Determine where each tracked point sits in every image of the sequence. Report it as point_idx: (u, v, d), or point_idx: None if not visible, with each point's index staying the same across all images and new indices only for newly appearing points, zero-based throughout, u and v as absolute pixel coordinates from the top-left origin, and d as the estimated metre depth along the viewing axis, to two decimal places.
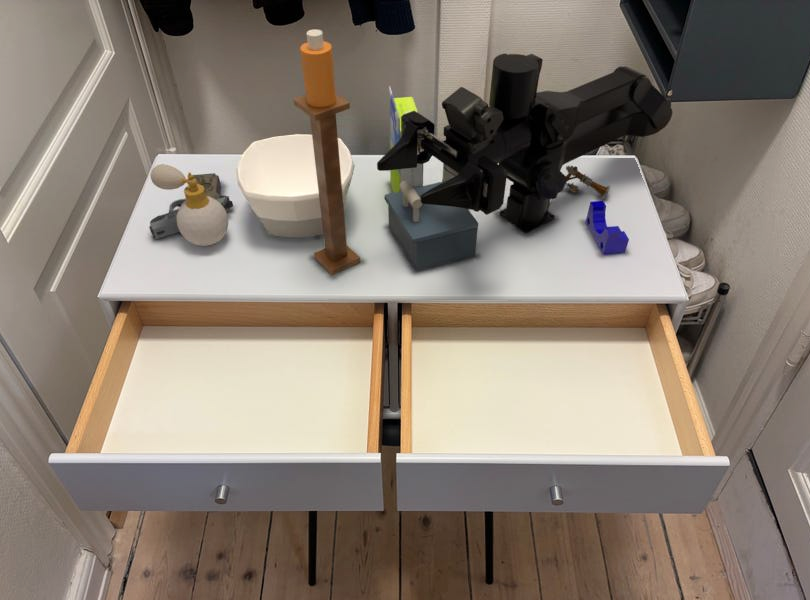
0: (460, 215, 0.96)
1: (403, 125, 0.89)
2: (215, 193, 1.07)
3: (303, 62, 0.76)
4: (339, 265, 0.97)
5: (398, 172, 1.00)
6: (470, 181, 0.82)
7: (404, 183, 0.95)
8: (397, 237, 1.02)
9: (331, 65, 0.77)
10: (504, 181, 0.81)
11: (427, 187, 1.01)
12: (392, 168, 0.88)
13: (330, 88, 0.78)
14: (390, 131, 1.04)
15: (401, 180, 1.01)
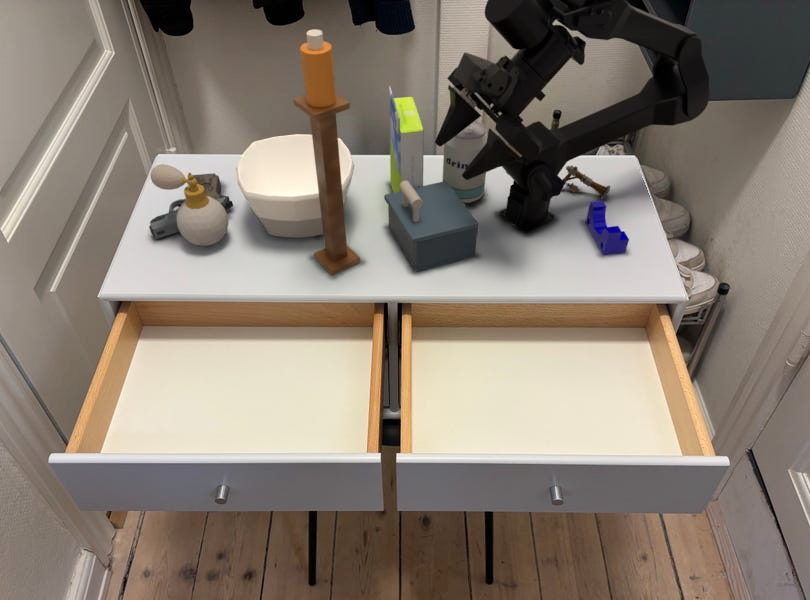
0: (460, 215, 0.96)
1: None
2: (215, 193, 1.07)
3: (303, 62, 0.76)
4: (339, 265, 0.97)
5: (398, 172, 1.00)
6: (497, 145, 0.86)
7: (404, 183, 0.95)
8: (397, 237, 1.02)
9: (331, 65, 0.77)
10: (524, 136, 0.83)
11: (427, 187, 1.01)
12: (453, 136, 0.95)
13: (330, 88, 0.78)
14: (390, 131, 1.04)
15: (401, 180, 1.01)
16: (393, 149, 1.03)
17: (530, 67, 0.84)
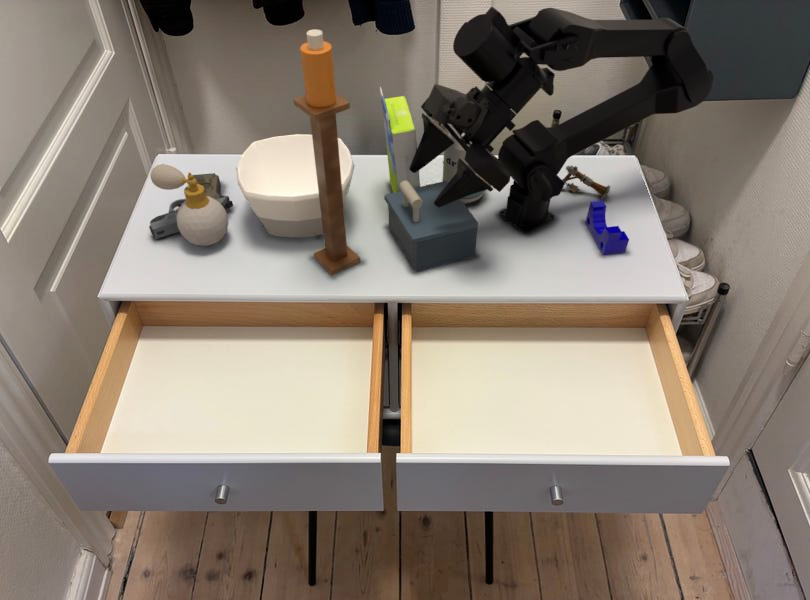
0: (460, 215, 0.96)
1: None
2: (215, 193, 1.07)
3: (303, 62, 0.76)
4: (339, 265, 0.97)
5: (394, 173, 1.00)
6: (467, 175, 0.87)
7: (404, 183, 0.95)
8: (397, 237, 1.02)
9: (331, 65, 0.77)
10: (492, 167, 0.84)
11: (427, 187, 1.01)
12: (426, 163, 0.97)
13: (330, 88, 0.78)
14: (385, 132, 1.04)
15: (397, 181, 1.00)
16: (388, 150, 1.03)
17: (499, 99, 0.86)
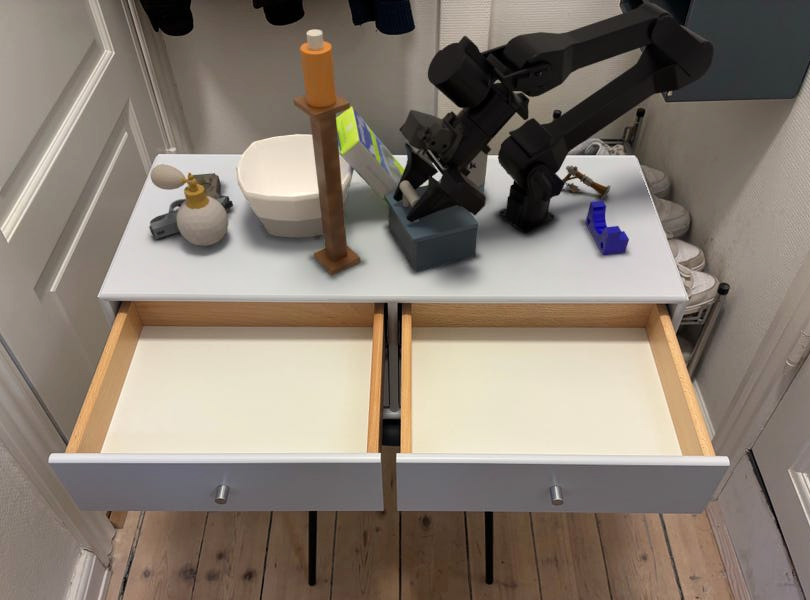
0: (460, 215, 0.96)
1: (406, 147, 0.95)
2: (215, 193, 1.07)
3: (303, 62, 0.76)
4: (339, 265, 0.97)
5: (368, 184, 1.01)
6: (437, 191, 0.90)
7: (404, 183, 0.95)
8: (397, 237, 1.02)
9: (331, 65, 0.77)
10: (467, 192, 0.86)
11: (427, 187, 1.01)
12: None
13: (330, 88, 0.78)
14: None
15: (374, 189, 1.01)
16: None
17: (474, 124, 0.87)
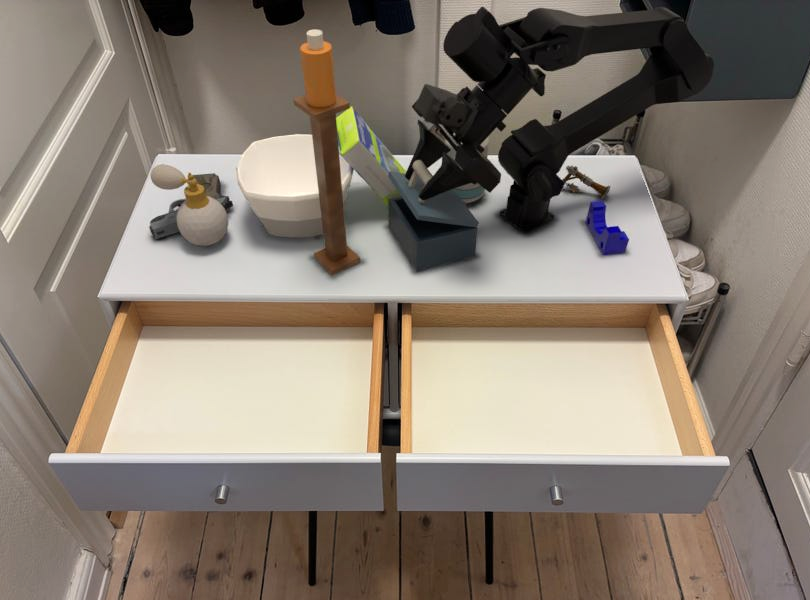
0: (462, 211, 0.96)
1: None
2: (215, 193, 1.07)
3: (303, 62, 0.76)
4: (339, 265, 0.97)
5: (368, 184, 1.01)
6: (452, 168, 0.88)
7: (419, 162, 0.93)
8: (397, 237, 1.02)
9: (331, 65, 0.77)
10: (482, 167, 0.84)
11: None
12: None
13: (330, 88, 0.78)
14: None
15: (374, 189, 1.01)
16: None
17: (490, 99, 0.86)
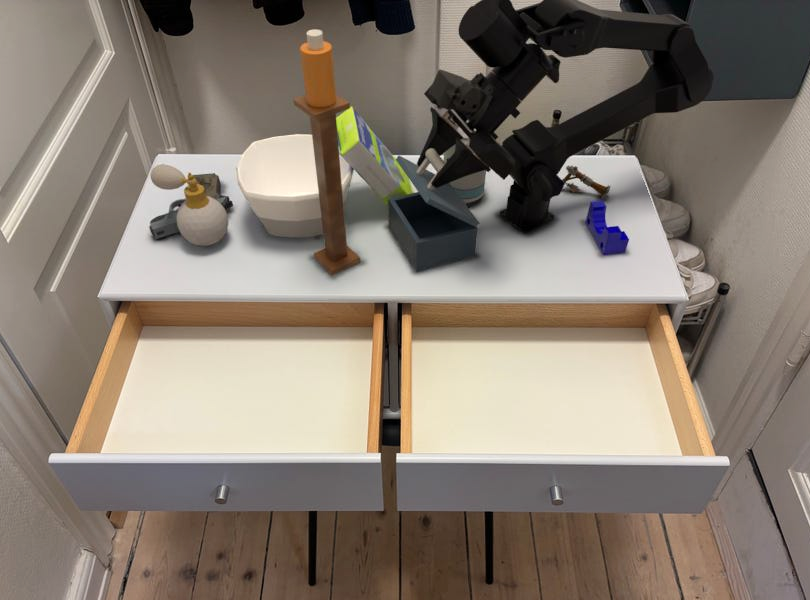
0: (464, 209, 0.96)
1: None
2: (215, 193, 1.07)
3: (303, 62, 0.76)
4: (339, 265, 0.97)
5: (368, 184, 1.01)
6: (465, 154, 0.87)
7: (433, 150, 0.93)
8: (397, 237, 1.02)
9: (331, 65, 0.77)
10: (497, 153, 0.83)
11: (433, 174, 1.00)
12: None
13: (330, 88, 0.78)
14: None
15: (374, 189, 1.01)
16: None
17: (504, 85, 0.85)
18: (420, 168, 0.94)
